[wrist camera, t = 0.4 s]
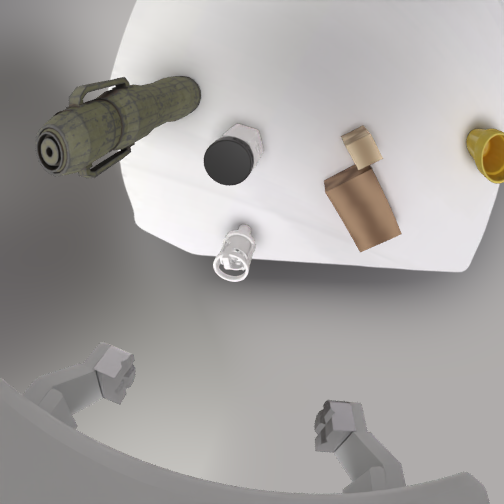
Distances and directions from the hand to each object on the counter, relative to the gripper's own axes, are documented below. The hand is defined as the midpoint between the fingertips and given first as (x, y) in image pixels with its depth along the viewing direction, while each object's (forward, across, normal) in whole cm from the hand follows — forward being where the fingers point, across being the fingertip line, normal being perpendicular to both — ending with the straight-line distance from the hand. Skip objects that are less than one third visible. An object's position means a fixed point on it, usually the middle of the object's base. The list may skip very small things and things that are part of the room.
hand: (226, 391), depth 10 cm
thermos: (+47, +22, -17) cm, 55 cm away
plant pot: (+43, -40, -25) cm, 64 cm away
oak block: (+47, -14, -15) cm, 51 cm away
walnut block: (+51, -19, -3) cm, 54 cm away
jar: (+49, +8, -9) cm, 51 cm away
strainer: (+56, +4, +11) cm, 57 cm away
